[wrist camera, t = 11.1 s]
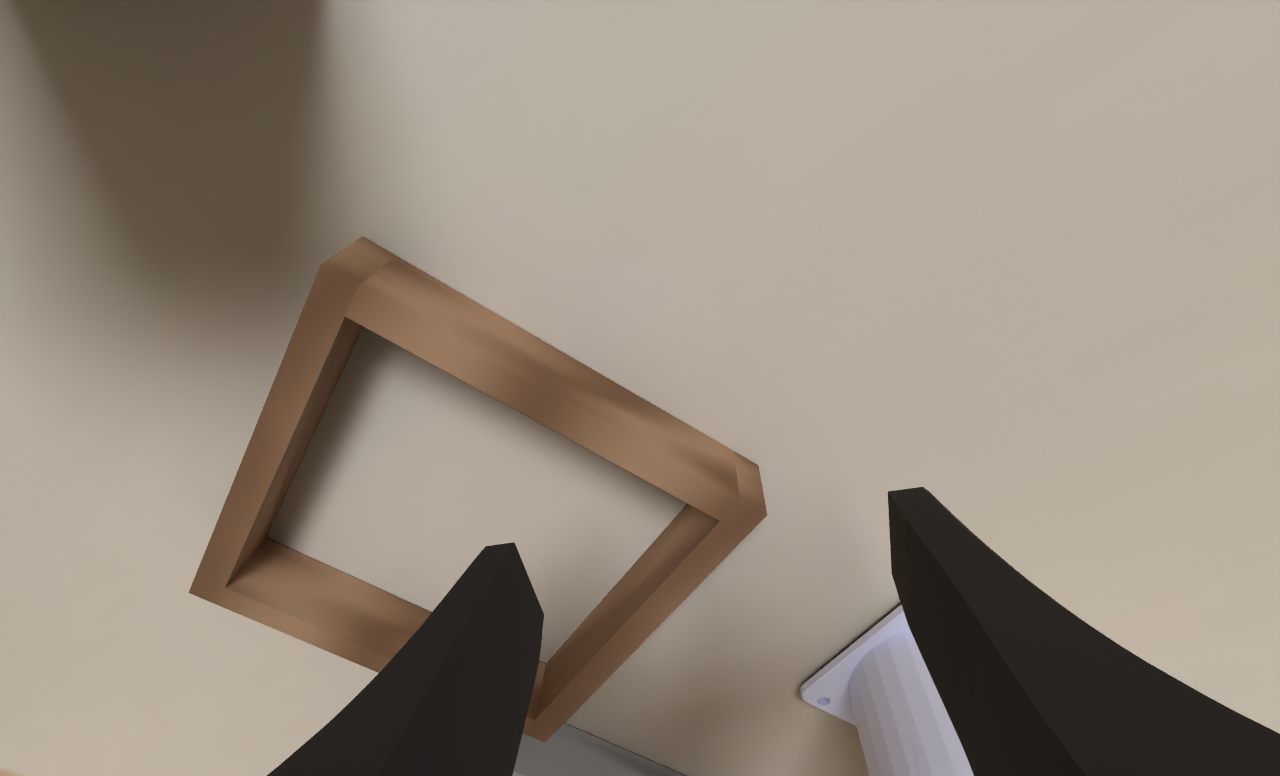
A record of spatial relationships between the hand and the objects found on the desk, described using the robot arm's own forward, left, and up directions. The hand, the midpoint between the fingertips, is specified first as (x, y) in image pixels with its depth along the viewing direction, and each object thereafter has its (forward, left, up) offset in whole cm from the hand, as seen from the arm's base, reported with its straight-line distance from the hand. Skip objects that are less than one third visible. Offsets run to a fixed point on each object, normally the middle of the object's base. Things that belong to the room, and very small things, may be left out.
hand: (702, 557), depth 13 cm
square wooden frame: (+3, +9, -8) cm, 13 cm away
